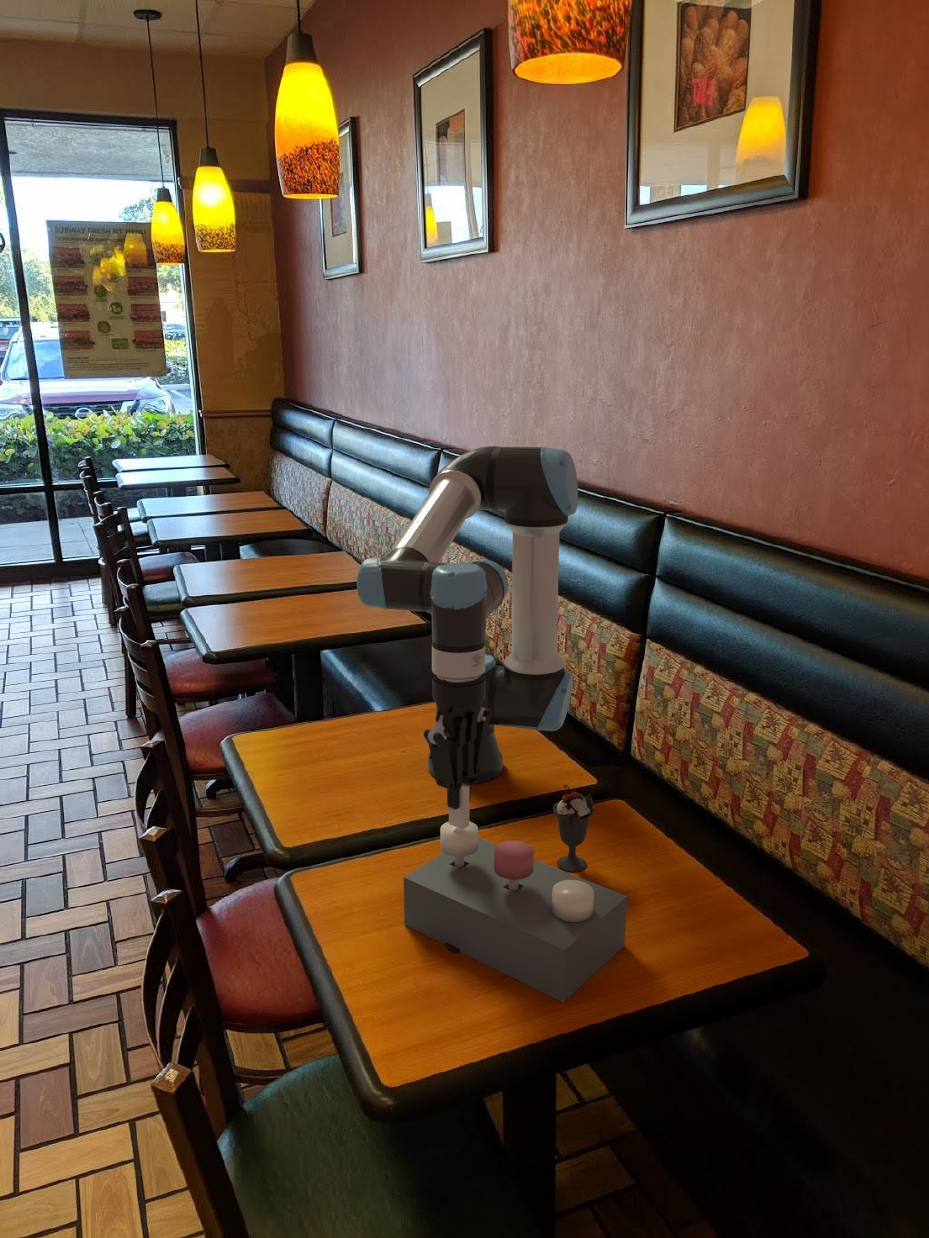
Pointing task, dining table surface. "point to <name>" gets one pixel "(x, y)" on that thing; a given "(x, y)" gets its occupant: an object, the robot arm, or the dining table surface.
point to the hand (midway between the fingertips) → (459, 824)
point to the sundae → (573, 827)
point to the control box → (514, 920)
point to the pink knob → (513, 861)
